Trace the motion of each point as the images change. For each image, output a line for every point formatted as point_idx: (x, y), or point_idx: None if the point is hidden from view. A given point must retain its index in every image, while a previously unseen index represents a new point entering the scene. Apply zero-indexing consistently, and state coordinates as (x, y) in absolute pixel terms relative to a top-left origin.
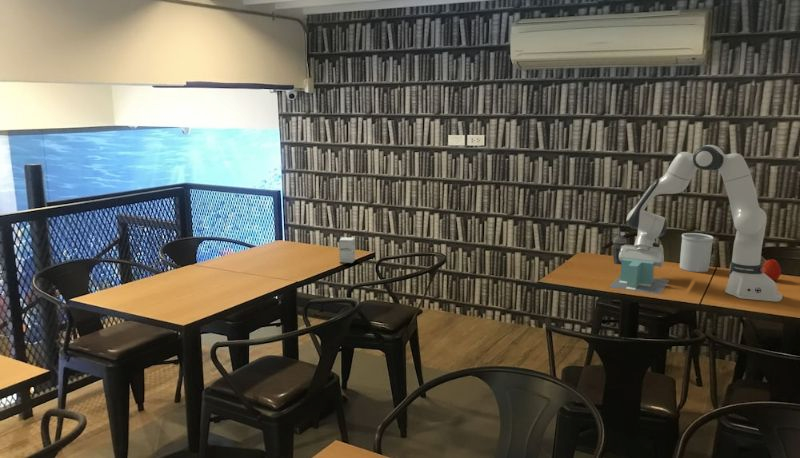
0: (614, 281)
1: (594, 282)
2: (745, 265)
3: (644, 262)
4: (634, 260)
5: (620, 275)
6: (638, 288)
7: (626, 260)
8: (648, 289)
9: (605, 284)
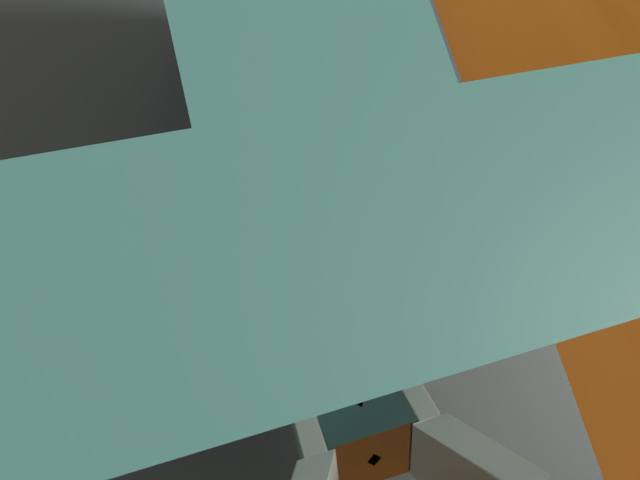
0: None
1: None
2: None
3: (102, 177)
4: (476, 218)
5: (586, 433)
6: (143, 27)
7: (614, 63)
8: (27, 58)
9: (507, 63)
